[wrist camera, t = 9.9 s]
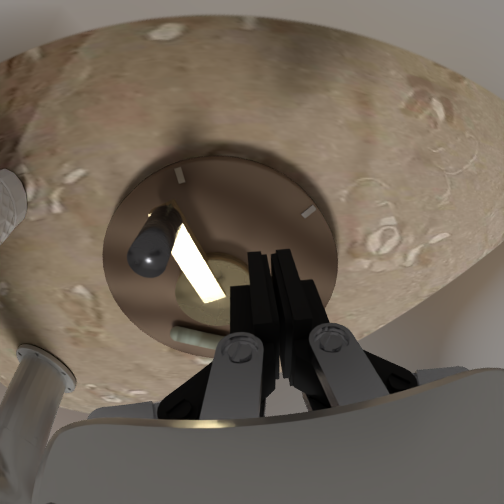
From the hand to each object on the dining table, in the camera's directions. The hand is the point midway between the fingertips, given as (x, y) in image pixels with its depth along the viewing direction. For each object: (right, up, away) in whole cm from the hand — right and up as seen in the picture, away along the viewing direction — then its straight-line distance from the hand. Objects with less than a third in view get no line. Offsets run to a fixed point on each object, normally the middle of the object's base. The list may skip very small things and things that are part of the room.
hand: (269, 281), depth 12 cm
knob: (-5, 0, +13) cm, 14 cm away
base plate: (-4, -1, +16) cm, 16 cm away
